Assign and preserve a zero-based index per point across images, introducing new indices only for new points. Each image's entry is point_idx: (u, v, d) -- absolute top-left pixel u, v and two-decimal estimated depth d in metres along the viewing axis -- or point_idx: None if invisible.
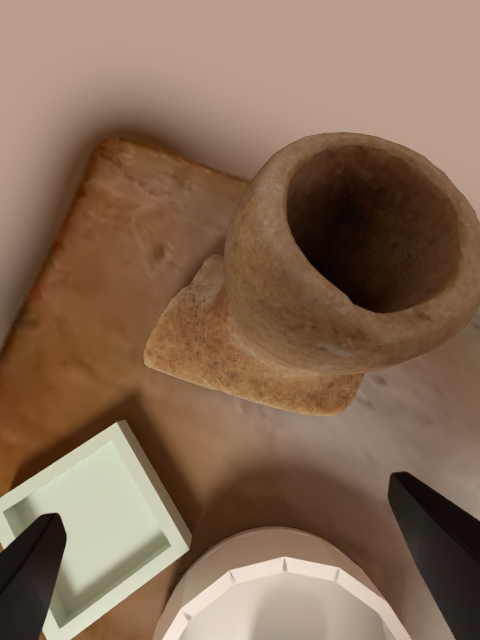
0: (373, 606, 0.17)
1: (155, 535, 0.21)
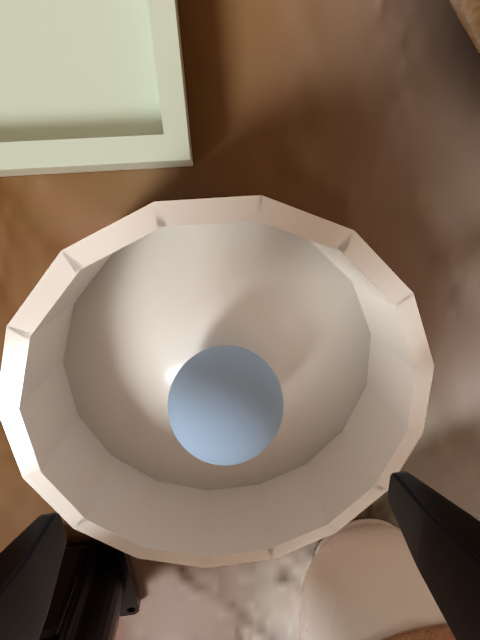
0: (415, 360, 0.12)
1: (139, 117, 0.12)
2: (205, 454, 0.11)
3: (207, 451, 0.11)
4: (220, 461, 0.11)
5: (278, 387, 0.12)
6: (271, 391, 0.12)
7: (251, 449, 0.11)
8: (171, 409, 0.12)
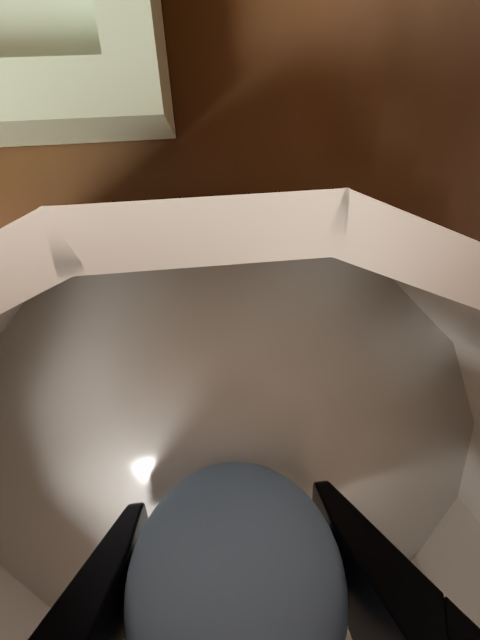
0: None
1: (59, 31, 0.06)
2: None
3: None
4: None
5: (340, 568, 0.06)
6: (333, 595, 0.06)
7: None
8: (127, 628, 0.06)
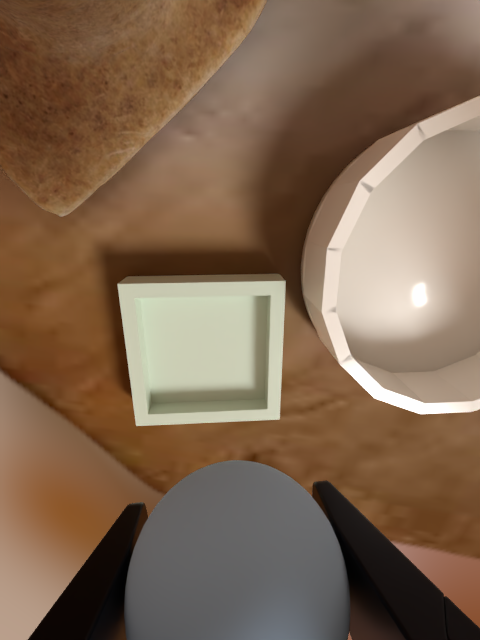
0: (478, 112, 0.13)
1: (254, 305, 0.19)
2: None
3: None
4: None
5: (342, 567, 0.06)
6: (334, 594, 0.06)
7: None
8: (127, 627, 0.06)
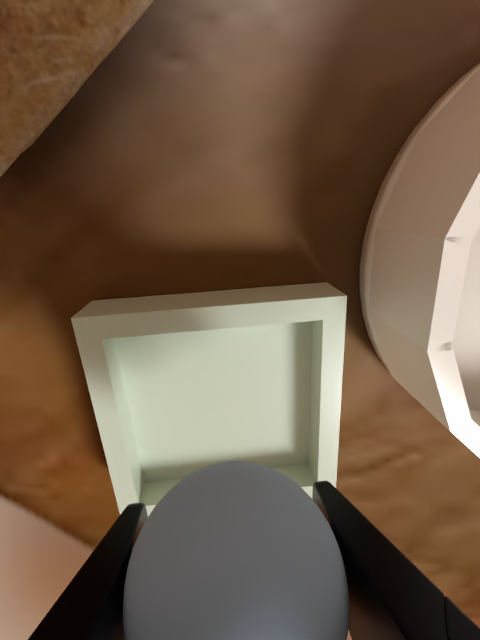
0: None
1: (292, 333, 0.12)
2: None
3: None
4: None
5: (341, 568, 0.06)
6: (334, 595, 0.06)
7: None
8: (126, 628, 0.06)
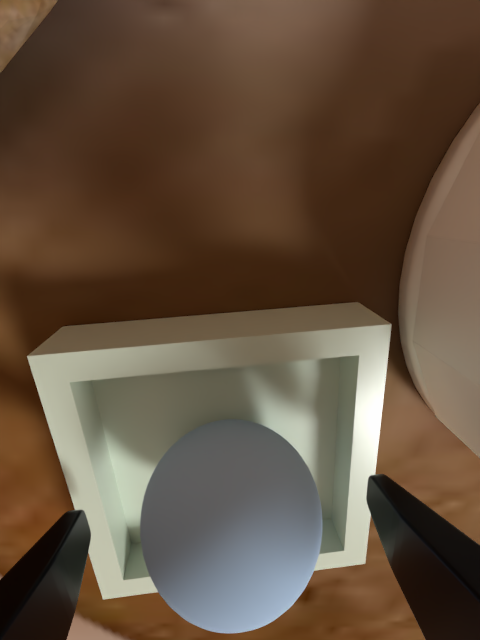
0: None
1: (315, 367, 0.10)
2: (198, 625, 0.07)
3: (202, 625, 0.07)
4: (223, 632, 0.07)
5: (315, 496, 0.08)
6: (307, 512, 0.07)
7: (276, 616, 0.07)
8: (143, 539, 0.07)
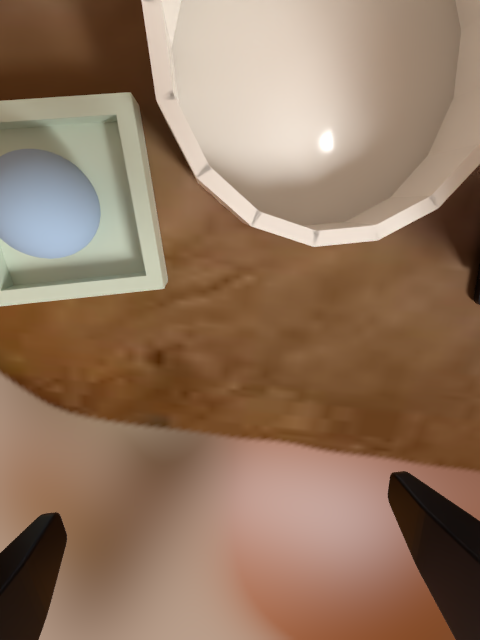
0: None
1: (110, 143, 0.16)
2: (3, 224, 0.13)
3: (2, 220, 0.13)
4: (19, 234, 0.13)
5: (81, 180, 0.14)
6: (66, 175, 0.13)
7: (45, 220, 0.13)
8: None
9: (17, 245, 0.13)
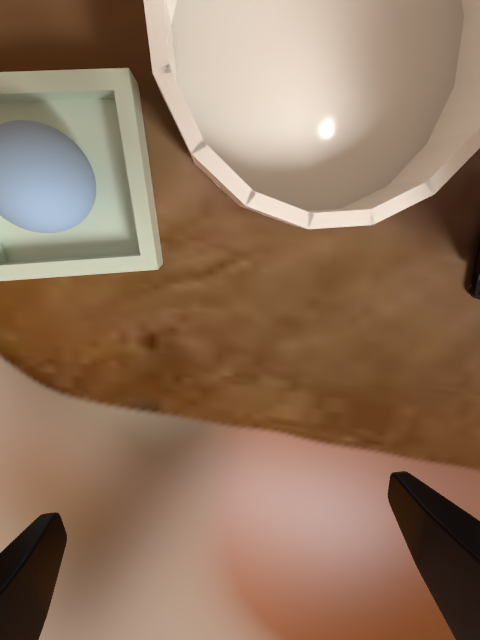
0: None
1: (108, 120, 0.16)
2: None
3: None
4: (13, 204, 0.13)
5: (77, 154, 0.14)
6: (62, 147, 0.13)
7: (39, 191, 0.13)
8: None
9: (11, 216, 0.13)
